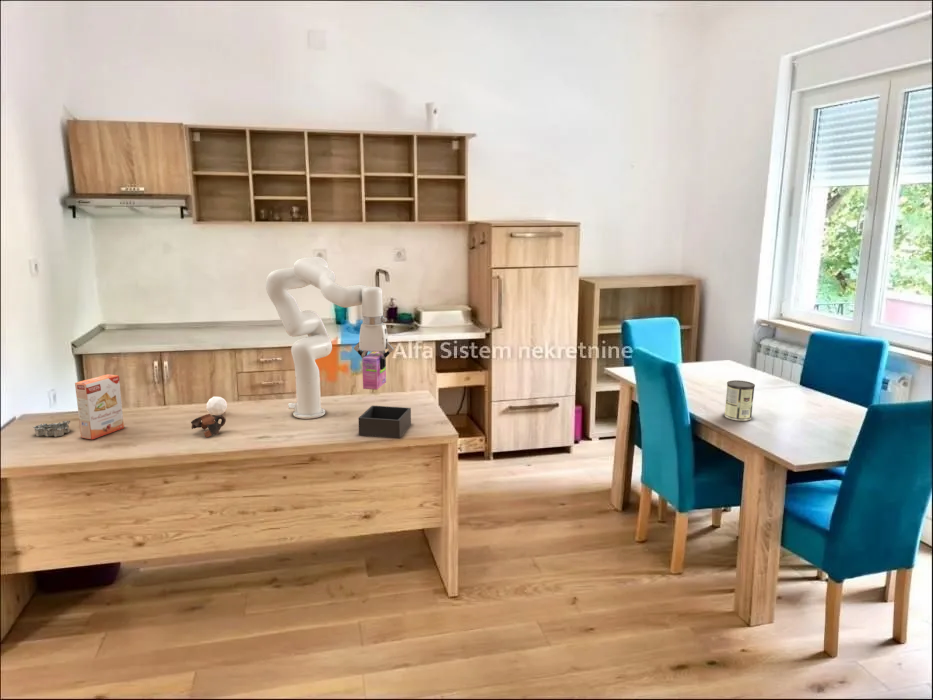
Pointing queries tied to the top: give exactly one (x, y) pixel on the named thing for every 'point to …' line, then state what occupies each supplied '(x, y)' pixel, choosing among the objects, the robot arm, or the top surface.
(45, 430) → the egg carton
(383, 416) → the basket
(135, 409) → the top surface
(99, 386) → the cracker box
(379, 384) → the box
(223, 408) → the ball
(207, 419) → the pottery mug
